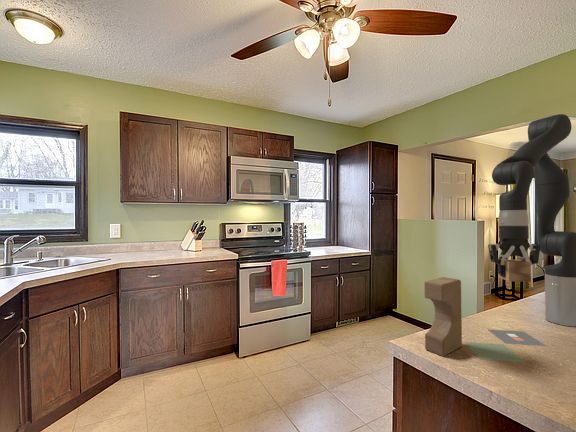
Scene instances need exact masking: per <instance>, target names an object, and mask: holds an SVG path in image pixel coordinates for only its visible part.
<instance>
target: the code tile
mask: <svg viewBox="0 0 576 432" xmlns="http://www.w3.org/2000/svg"><path fill="white" fill-rule="evenodd" d="M487 331H489V332H490V333H491V334H492V335H494V336H495V337H496V338H497V339H499V340H501V342H503V343H504V344H510V345H526V346H539V347H540V346H541V347H547V344H545V343H544V342H541V341H540V340H538V339H536V338H534V337H533V336H531V335H529V334H528V333H527V332H525V331H517V330H503V329H501V330H500V329H487Z"/></svg>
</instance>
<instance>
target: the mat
mask: <svg viewBox="0 0 576 432" xmlns="http://www.w3.org/2000/svg"><path fill="white" fill-rule="evenodd" d="M463 343H464V344H465V345H466V346H467V347H468V348H469V349H470V350H471V351H472V352H473V353H474V354H475V355H476V356H477V357H478V358H479V359H480V360H487V361H503V362H514V363H528V362H527V361H526V360H525V359H523V358H522V357H521V356H519V355H518V354H517V353H515V352H514V351H513V350H512V349H510V348H509V347H508V346H506V345H505V343H504V344H501V343H489V342H488V343H487V342H486V343H485V342H472V341H463Z"/></svg>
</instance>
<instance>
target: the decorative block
mask: <svg viewBox="0 0 576 432" xmlns="http://www.w3.org/2000/svg"><path fill="white" fill-rule="evenodd" d="M423 283H424V286H423V287H424V298H425V299H428V300H430V301H431V302H432V304H433V306H434V319H433V322H432V325H431V327H430V328H429V330H428V331H427V332H426V333H424V349H425V350H426V351H427V352H430V353H433V354H436V355H437V356H440V357H445V356H446V355H448V354H450V353H452V352H454V351H456V350H458V349H459V348H461V347H462V346H463V333H462V332H463V331H462V328H463V327H462V325H463V324H462V322H463V321H462V280H461V279H457V278H450V277H447V276H445V277H444V276H442V277H438V278H433V279H431V280H425V281H424V282H423Z"/></svg>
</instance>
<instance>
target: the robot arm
mask: <svg viewBox="0 0 576 432" xmlns="http://www.w3.org/2000/svg"><path fill="white" fill-rule="evenodd" d="M527 127H528V128H527V138H528V141H527V142H525V143H524V144H523V145H521V146H520V147H519V148H518V149H517V150H516V151H515V152H514V153H513V154H512V155H511V156H509V157H507V158H505V159H503V160H502V161H500V162H498V164H496V166H495V167H493V170H492V172H491V179H492V181H493V183H494V184H496V185H499V186H509V185H514V186H513V188H512V189H511V190H509V191H505V192H503V193H500V195H499V196H498V197H499V199H498V200H499V201H498V203H499V204H498V208H499V209H498V211H499V214H498V242H497V243H493V244H491V243H489V244H488V246H487V248H488V253H489V257H490V258H489V259H490V262H491V263H493V264H496V265H497V275H499V274H500V276H502V277H505V276H506V270H505V263H506V261H507V260H510V257H515V256H516V257H518V259H519V260H521V261H525V262H531V266H532V265H537V264H538V263H539V259H540V258H539V257H540V252H541V253H542V254H543V255H545V256H550V257H551V256H553V257H561V258H560V259H561V260H560V262H558V263H554V264H548V265H546V266H545V267H544V303H545V313H544V315H545V320H546V321H548V322H550V323H551V324H552V323H553V324H556V325H559V326H566V327H576V232H574V231H562V230H561V231H559V230H558V231H557V230H556V227H555V225H556V219H557V217H558V214H559V212H560V211H561V210H562V208H563V207H564V205H565V204H566V203H567V201H568V199H569V197H570V192H571V191H570V180H569V176H568V174H567V173H566V172H565V171H564V170H563V169H562V168H561V167H560V166H559V165H558V164H557V163H556V162H555V161H554V160H553V159H552V158H551V157H550V155H549V154H548V152H549V151H550V150H552V149H553V148H554V147H556V146H557V145H558V144H560V143H561V142H563V141H564V140H566V139H567V138H568V137H569V136H570V134H571V132H572V122H571V119H570V118H569V116H568V115H566V114H564V113H560V114H559V113H558V114H554V115H550V116H546V117H542V118H538V119H535V120H532V121H531V122H530V123H529V124H528V126H527ZM533 179H534V190H535V191H534V192H535V196H536V205H537V244H534V243H532V244H530V242H529V234H530V233H529V232H530V231H529V228H530V227H529V213H528V194H529V192H530V191H529V190H530V187H531V185H532V181H533ZM499 249H500V250H501V251H500V253H499V255H498V250H499ZM528 249H529V251H530V252H529V255H528V253H527V251H528Z"/></svg>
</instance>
